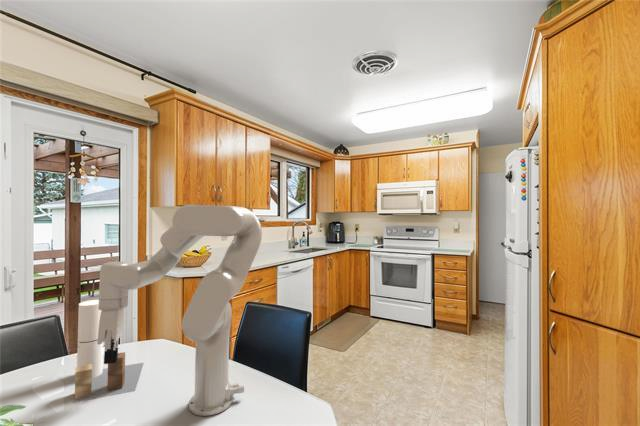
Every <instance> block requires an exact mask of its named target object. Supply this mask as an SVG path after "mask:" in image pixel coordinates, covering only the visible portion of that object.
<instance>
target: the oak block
mask: <svg viewBox="0 0 640 426" xmlns="http://www.w3.org/2000/svg"><path fill="white" fill-rule="evenodd" d="M74 369H75V371H74V372H75V375H74V376H75V379H74V399H78V398H82V397H85V396H89V395H91V386H92V364H88V365H84V366H80V367H77V366H76V367H75V368H74Z"/></svg>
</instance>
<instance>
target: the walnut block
mask: <svg viewBox="0 0 640 426" xmlns="http://www.w3.org/2000/svg"><path fill="white" fill-rule="evenodd" d="M125 365H126V351H125V352H118V359H117V361H116V363H110V364H107V368H108V382H107V391H111V390H117V389H122V388H123V385H124V383H125Z"/></svg>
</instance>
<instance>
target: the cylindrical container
mask: <svg viewBox="0 0 640 426" xmlns="http://www.w3.org/2000/svg"><path fill="white" fill-rule="evenodd" d="M98 306H99V299H93V300H92V299H91V300H90V299H89V300H86V301H82V302H79V303H78V315H77V316H78V319H77V321H78V322H77V349H76V350H77V352H76V353H77V355H76V358H77V359H76V367H80V366H84V365H88V364H92V378H95V377H97V376H99V375H100V374H102V371H103V369H104V367H103V364H104V341H103V342H102V344H100V345H98V344H97V341H98V330H99V321H100V315H101V310H99V309H98Z"/></svg>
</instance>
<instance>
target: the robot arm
mask: <svg viewBox="0 0 640 426" xmlns="http://www.w3.org/2000/svg"><path fill="white" fill-rule="evenodd" d="M171 223H172V226H170V227H169V228H168V229H167V230H166V231H165V232H164V233H162V234H161V236H160V243H161V246H162V247H161V248H160V249H159V250H158V251H157V252H156V253H155V254H154V255H153V256H152V257H150V258H149V259H148V260H144V261H140V262H139V261H138V262H135V263H128V262H127V261H126V262H125V261H108V262H105V263H103V264H101V266H100V270H99V286H98V287H99V288H98V289H99V290H98V300H99V306H98V309H99V310H101V315H100V321H99V330H98V341H97V344H98V345H100V344H102V342H103V343H104V350H103V364H104V365H108V364H110V363H116V361H117V359H118V353H119V339H120V337H121V335H122V333H123V330H124V315H125V312H124V311H125V309H126V308H127V307H128V306H129V290H130V291H131V290H138V289H140V288H143V287H145V286H149V285H150V284H155V283H157V282H158V281H160V280H161V279H162V278H164V276H166V275H167V274H168V273H169V272H170V271H172V270H173V269H174V268H175V267H176V266H177V265H178V263H179V262H180V261H181V259H182V257H183V255H185V253H186V252H187V251H189V250H190V248H192V247H193V246H194V245H195V244H197V243H198V242H199V241H200V240H201V239H202V238H203V237H233V239H232V241H231V242H230V244H229V246H228V247H227V249H226V250H225V253H224V256H223V258H222V260H221V262H220V263H219V266H217V268H215V269H213V270H211V271H209V272H207V273H206V274H205V275H204V276H203V277H202V278H201V279H200V281H199V283H198V285H197V287H196V289H195V291H194V293H193V295H192V297H191V299H190V302H189V303H188V306H187V308H186V311H185V312H184V314H183V318H182V322H181V329H182V332H183V334H184V335H183V336H185V337H186V339H188V340H189V341H191V342H194V343H195V358H194V359H195V360H194V362H195V365H194V395H193V396H192V397H190V400H189V402H188V409H189V411H190V412H191V413H192V414H194V415H196V416H199V417H204V416H205V417H206V416H208V417H209V416H213V415H217V414H220V413H222V412H224V411H225V410H227V409H228V408H229V407H230V406H231V405H232V404H233V401H234V395H236V394H237V395H238V394H243V393H245V386H244V385H239V382H236V383H234V384H233V383H232V384H231V383H230V381H229V366H230V365H229V361H230V335H231V326H232V325H231V324H232V318H233V309H232V306H231V303H230V301H231V300H232V299H233V298H234V297H236V296H237V295H238V294H239V293H240V292H241V290H242V287H243V286H244V283H245V281H246V278H247V276H248V274H249V272H250V270H251V268H252V265H253V262H254V260H255V258H256V256H257V254H258V251H259V249H260V246H261V243H262V237H263V230H262V229H263V228H262V226H261V225H262V224H261V223H260V220H259V219H258V217H257V216H256V214H255V213H254V212H253V211H252V210H250V209H248V208H246V207H244V206H237V205H235V206H234V205H206V204H205V205H204V204H202V205H199V204H198V205H197V204H185V205H183V206H180V207H178V209H177V210H175V212H174V214H173V216H172V222H171Z"/></svg>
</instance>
